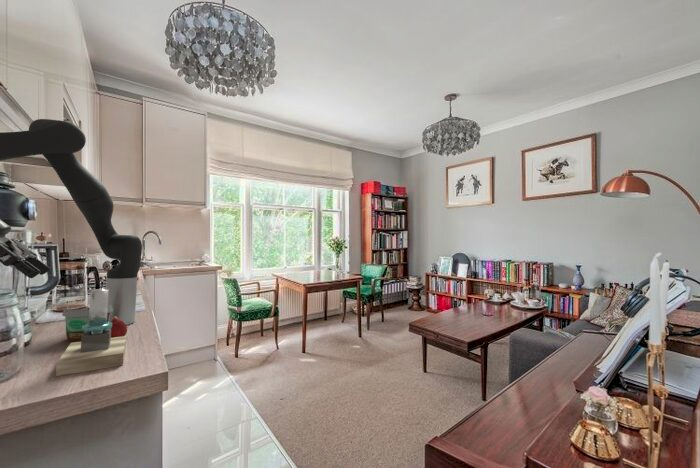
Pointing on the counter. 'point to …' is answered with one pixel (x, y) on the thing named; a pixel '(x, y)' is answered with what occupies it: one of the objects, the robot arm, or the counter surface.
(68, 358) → the wooden base with socket
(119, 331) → the onion
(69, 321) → the food container
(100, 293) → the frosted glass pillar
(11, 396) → the counter surface
